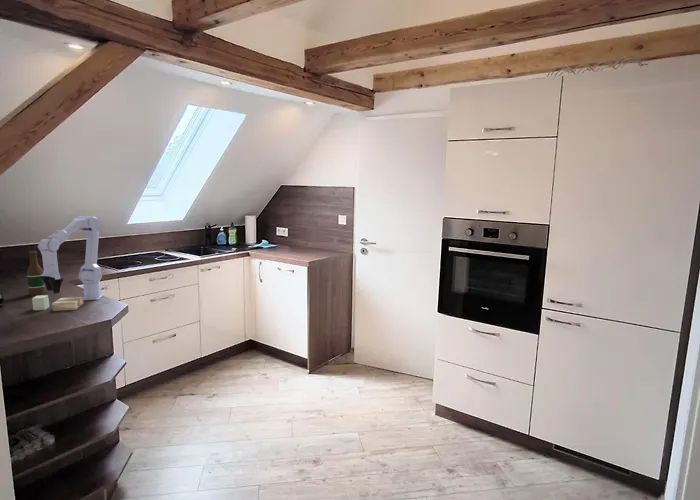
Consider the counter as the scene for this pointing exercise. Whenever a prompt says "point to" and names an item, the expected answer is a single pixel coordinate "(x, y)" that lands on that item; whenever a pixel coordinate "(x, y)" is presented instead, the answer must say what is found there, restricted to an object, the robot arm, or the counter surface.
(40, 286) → the beer bottle
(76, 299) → the birch base
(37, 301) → the sage block
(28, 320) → the counter surface
